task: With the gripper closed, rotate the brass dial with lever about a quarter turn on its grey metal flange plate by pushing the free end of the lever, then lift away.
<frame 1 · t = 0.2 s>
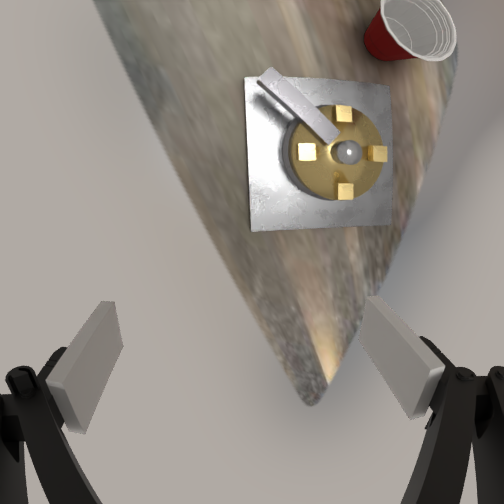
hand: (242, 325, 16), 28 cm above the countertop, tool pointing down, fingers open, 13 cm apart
brass dial with lever: (321, 131, 32), point 7 cm above the countertop, hinge at 0.0°
plastic cup: (379, 45, 36), on the countertop
flange plate: (322, 152, 40), on the countertop
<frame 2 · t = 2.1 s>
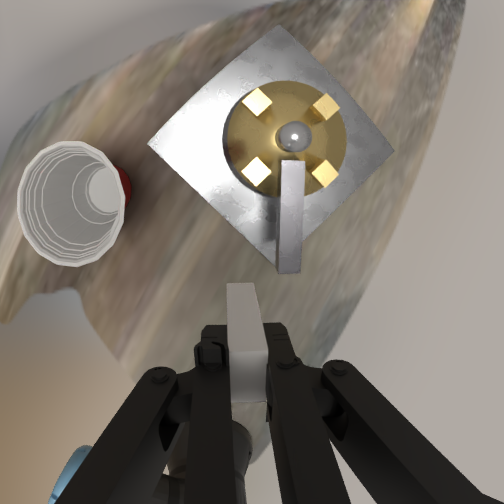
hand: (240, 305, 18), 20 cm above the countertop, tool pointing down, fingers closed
brass dial with lever: (288, 173, 28), point 7 cm above the countertop, hinge at 0.0°
plastic cup: (111, 189, 34), on the countertop
flange plate: (276, 141, 34), on the countertop
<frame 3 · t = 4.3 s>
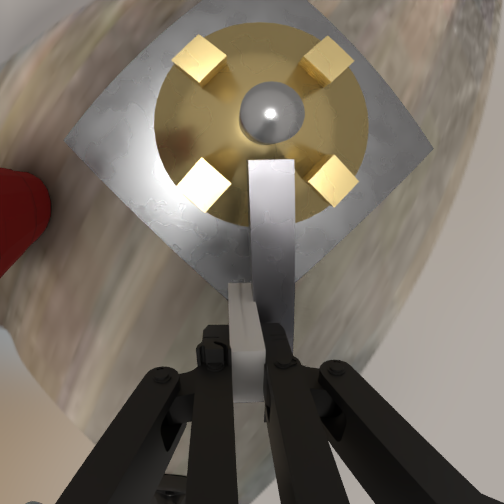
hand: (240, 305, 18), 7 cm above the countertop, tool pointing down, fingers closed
brass dial with lever: (267, 184, 16), point 7 cm above the countertop, hinge at 3.2°, touching gripper
plastic cup: (29, 205, 22), on the countertop
flange plate: (254, 130, 22), on the countertop
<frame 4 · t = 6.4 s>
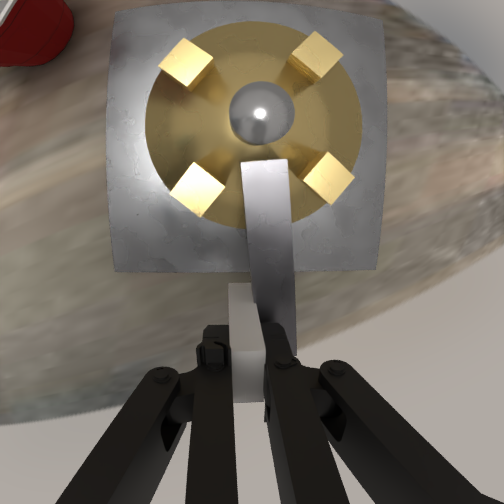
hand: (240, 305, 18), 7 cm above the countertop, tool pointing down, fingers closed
brass dial with lever: (262, 184, 15), point 7 cm above the countertop, hinge at 50.8°, touching gripper
plastic cup: (49, 37, 18), on the countertop
flange plate: (248, 130, 21), on the countertop
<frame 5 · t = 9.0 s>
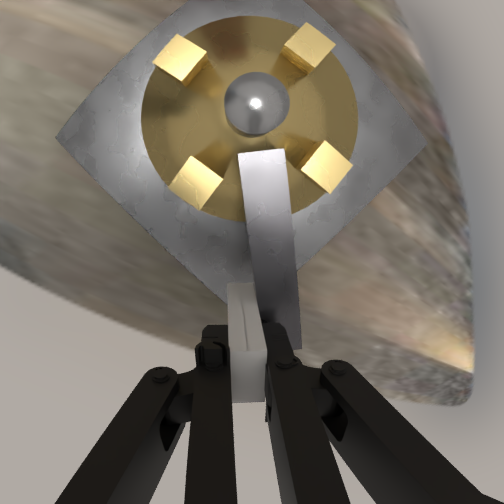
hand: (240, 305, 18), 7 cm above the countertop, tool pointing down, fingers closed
brass dial with lever: (260, 176, 15), point 7 cm above the countertop, hinge at 98.2°, touching gripper
flange plate: (244, 126, 21), on the countertop
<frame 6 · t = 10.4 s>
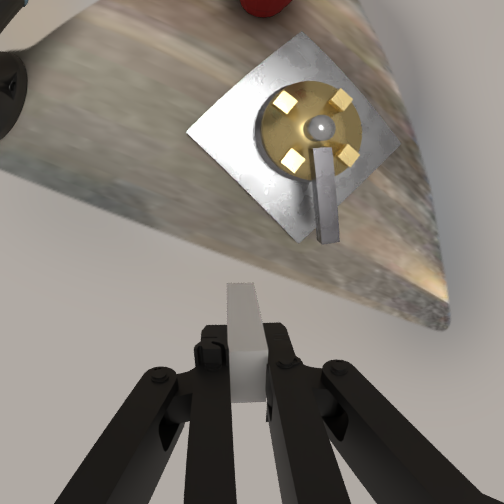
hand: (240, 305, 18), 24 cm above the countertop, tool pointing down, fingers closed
brass dial with lever: (318, 159, 32), point 7 cm above the countertop, hinge at 98.2°
plastic cup: (262, 3, 33), on the countertop
flange plate: (299, 133, 38), on the countertop
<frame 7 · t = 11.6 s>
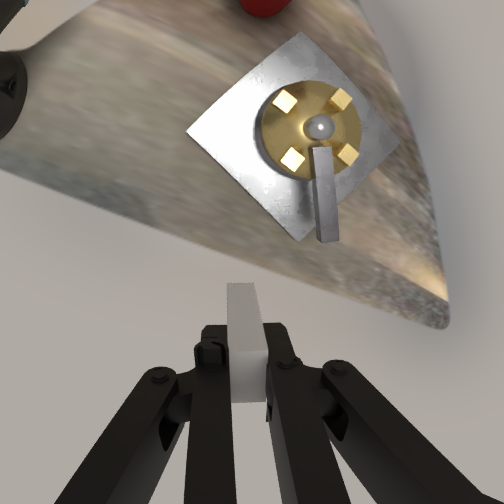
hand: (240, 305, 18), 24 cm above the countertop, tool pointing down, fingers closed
brass dial with lever: (318, 158, 32), point 7 cm above the countertop, hinge at 98.2°
plastic cup: (261, 2, 33), on the countertop
flange plate: (299, 133, 38), on the countertop
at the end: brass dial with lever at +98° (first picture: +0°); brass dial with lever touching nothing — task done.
